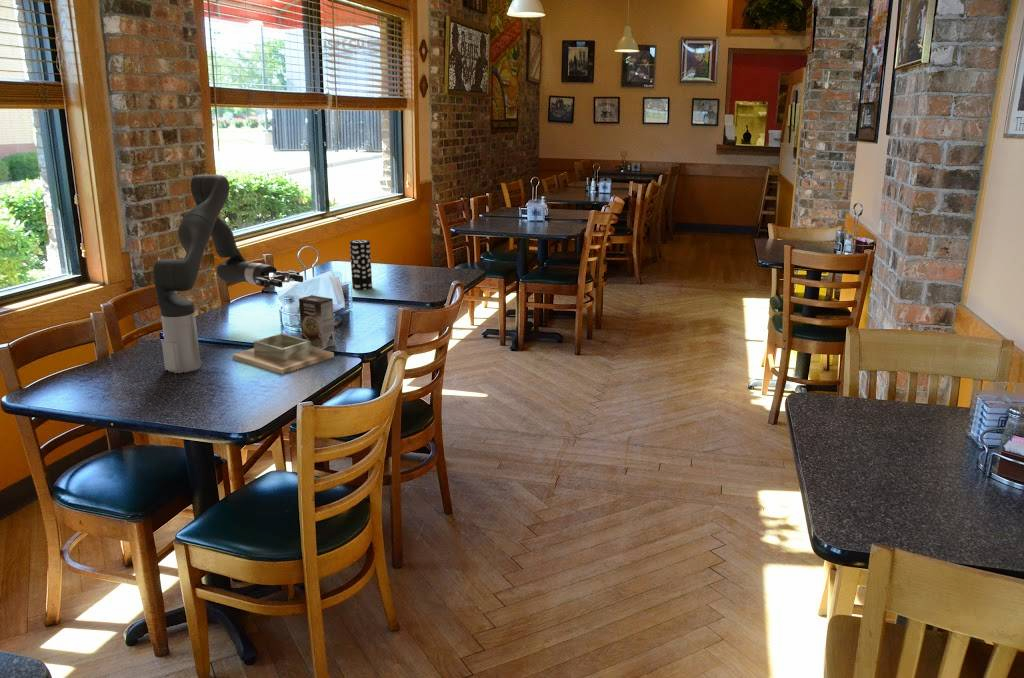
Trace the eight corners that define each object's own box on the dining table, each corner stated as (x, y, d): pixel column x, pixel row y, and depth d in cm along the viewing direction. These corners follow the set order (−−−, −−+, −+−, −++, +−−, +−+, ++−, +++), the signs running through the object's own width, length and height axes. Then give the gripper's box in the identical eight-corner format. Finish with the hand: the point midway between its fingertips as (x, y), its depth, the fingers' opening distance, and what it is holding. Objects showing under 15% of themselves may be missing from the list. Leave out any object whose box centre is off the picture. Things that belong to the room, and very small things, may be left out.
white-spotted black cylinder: (350, 286, 339) (347, 240, 333) (369, 284, 343) (366, 239, 337) (355, 290, 332) (352, 243, 326) (374, 289, 335) (372, 242, 329)
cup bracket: (282, 374, 234) (280, 356, 232) (233, 358, 247) (231, 342, 245) (334, 357, 249) (332, 340, 247) (284, 343, 262) (283, 327, 261)
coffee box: (301, 346, 259) (297, 298, 255) (314, 341, 265) (311, 294, 260) (323, 350, 255) (319, 302, 251) (336, 345, 261) (332, 297, 256)
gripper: (242, 267, 263) (273, 274, 254) (277, 260, 274) (308, 266, 265) (244, 289, 265) (275, 297, 256) (279, 281, 276) (310, 288, 267)
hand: (292, 281), depth 261 cm, fingers open, 8 cm apart
